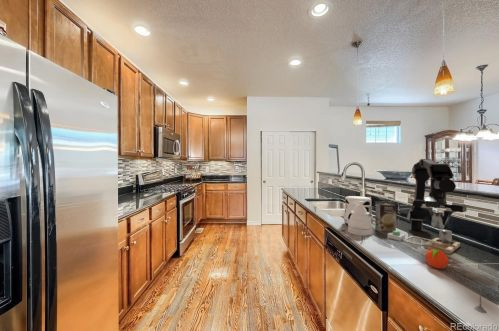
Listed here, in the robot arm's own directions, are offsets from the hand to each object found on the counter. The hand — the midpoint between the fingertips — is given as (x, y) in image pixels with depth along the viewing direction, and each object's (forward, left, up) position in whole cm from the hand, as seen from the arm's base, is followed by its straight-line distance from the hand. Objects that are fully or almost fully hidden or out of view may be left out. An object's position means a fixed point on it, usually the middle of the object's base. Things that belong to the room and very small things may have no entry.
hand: (437, 224), depth 105 cm
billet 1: (0, 0, -2) cm, 2 cm away
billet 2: (-9, +1, -11) cm, 15 cm away
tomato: (+23, +6, -13) cm, 27 cm away
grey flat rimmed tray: (-5, -9, -12) cm, 16 cm away
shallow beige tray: (-5, +1, -12) cm, 13 cm away
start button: (0, -17, -11) cm, 20 cm away
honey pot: (+3, -35, -13) cm, 38 cm away
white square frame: (0, -17, -12) cm, 21 cm away
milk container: (-11, -44, -13) cm, 47 cm away
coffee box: (-13, -28, -13) cm, 34 cm away
